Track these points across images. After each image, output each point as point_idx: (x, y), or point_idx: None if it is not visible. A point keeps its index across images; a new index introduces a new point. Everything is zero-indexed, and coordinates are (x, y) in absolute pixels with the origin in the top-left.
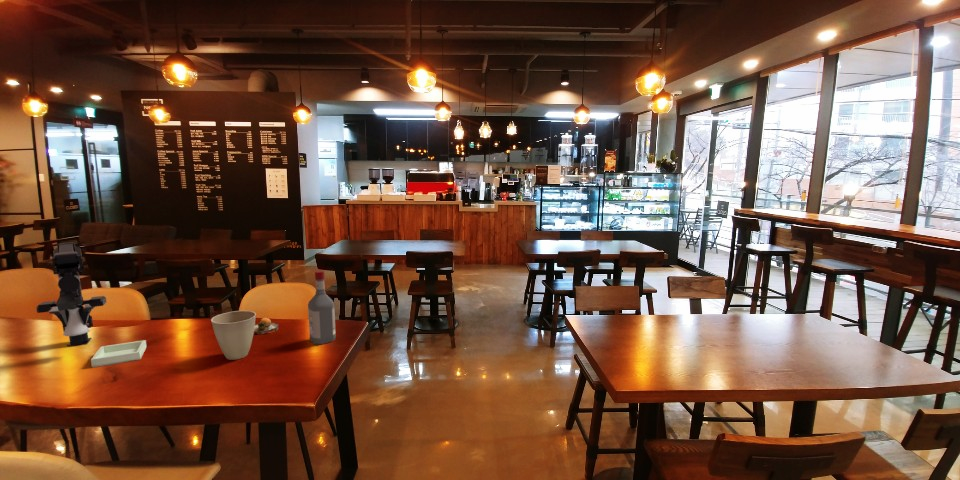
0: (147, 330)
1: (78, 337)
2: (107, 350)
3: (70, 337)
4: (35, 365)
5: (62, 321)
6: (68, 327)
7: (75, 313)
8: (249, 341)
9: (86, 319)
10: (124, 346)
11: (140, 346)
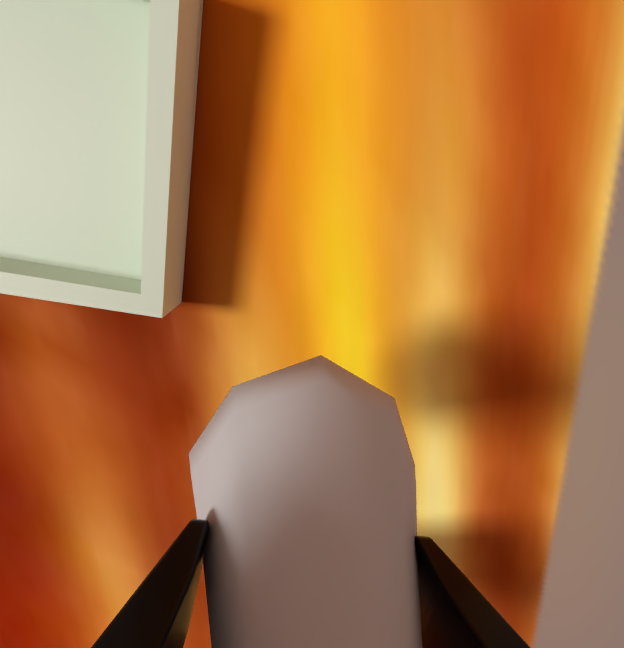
0: (5, 581)
1: None
2: (134, 284)
3: None
4: (488, 325)
5: (507, 645)
6: (394, 490)
7: None
8: None
9: (123, 608)
10: (10, 267)
11: None
